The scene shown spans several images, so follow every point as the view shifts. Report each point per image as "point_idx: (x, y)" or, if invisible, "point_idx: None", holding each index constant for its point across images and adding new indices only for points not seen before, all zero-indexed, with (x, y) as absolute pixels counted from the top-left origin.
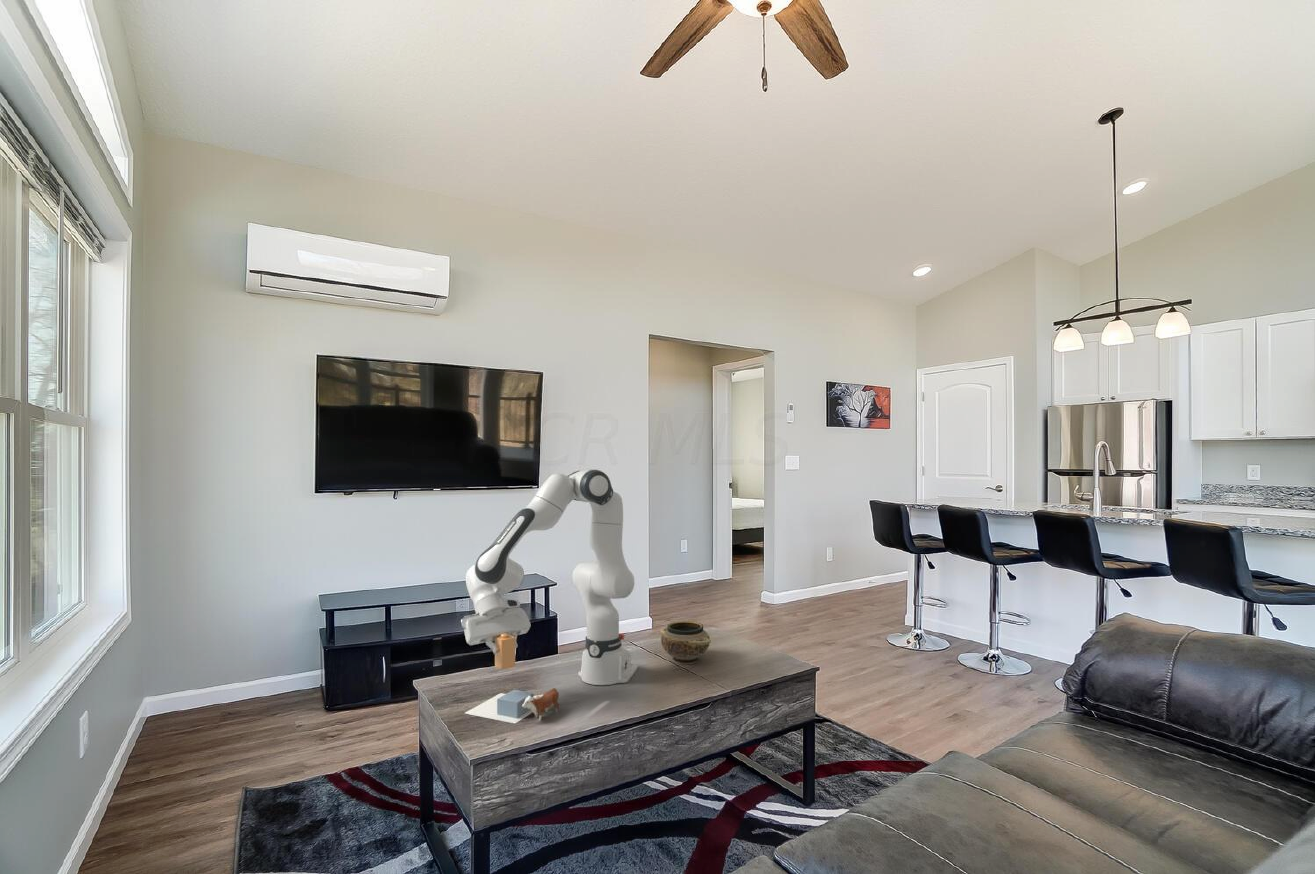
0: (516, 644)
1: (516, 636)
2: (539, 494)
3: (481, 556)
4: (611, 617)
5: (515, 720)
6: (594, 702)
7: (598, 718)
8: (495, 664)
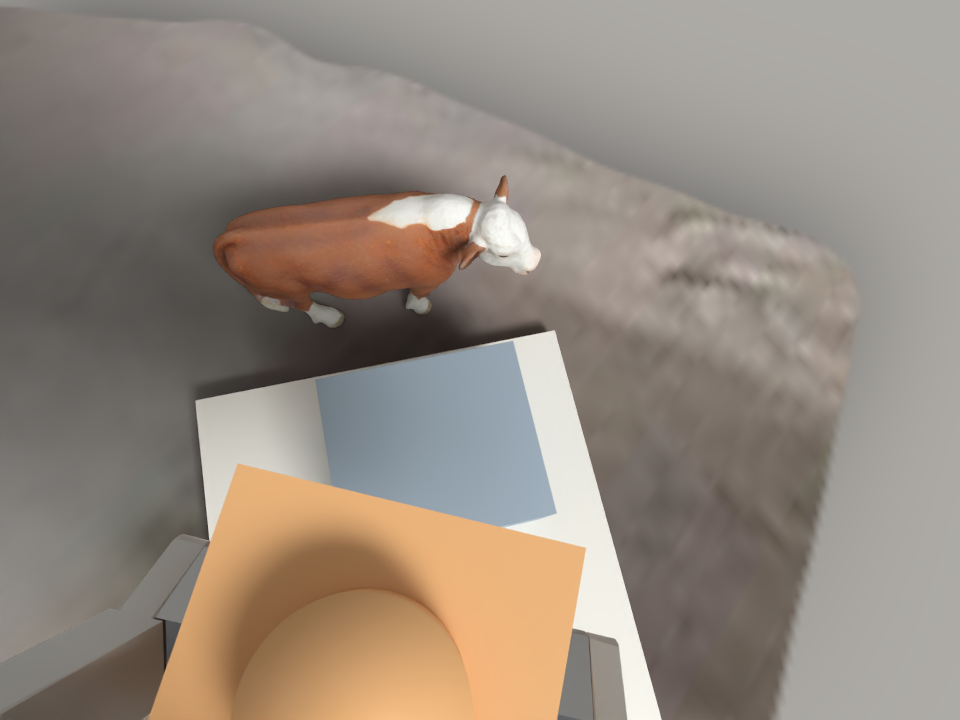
0: (188, 546)
1: (6, 670)
2: None
3: None
4: None
5: (527, 357)
6: (28, 213)
7: (215, 75)
8: None
